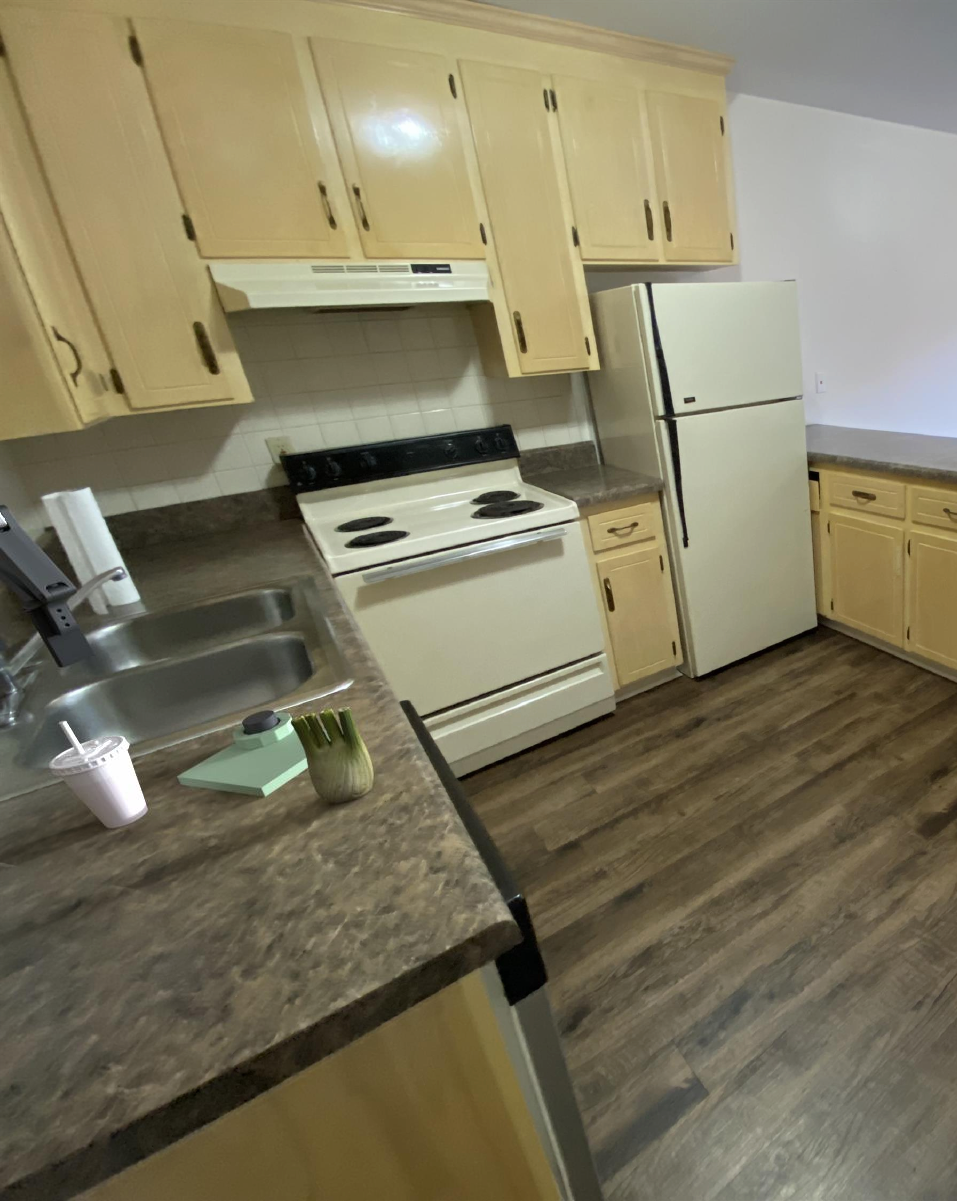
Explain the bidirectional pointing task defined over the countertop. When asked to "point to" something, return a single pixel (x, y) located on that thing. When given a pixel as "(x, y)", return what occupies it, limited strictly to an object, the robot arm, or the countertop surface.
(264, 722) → the button
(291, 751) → the scale
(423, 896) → the countertop surface
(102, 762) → the smoothie
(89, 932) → the countertop surface
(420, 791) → the countertop surface
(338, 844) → the countertop surface
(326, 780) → the fennel bulb
